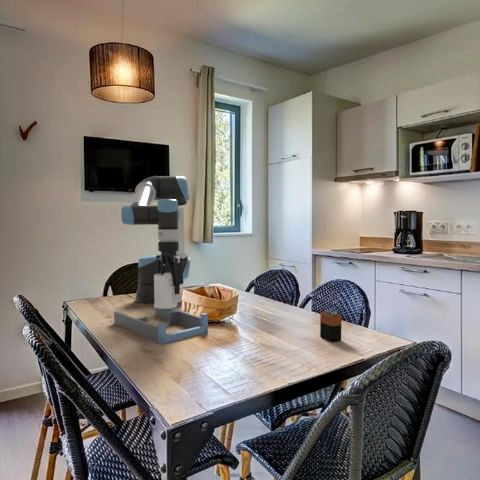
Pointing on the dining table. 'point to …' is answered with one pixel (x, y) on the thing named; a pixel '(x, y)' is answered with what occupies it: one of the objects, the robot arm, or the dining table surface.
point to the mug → (164, 291)
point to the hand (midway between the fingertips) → (169, 300)
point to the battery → (330, 326)
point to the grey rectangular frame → (150, 330)
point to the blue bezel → (184, 333)
